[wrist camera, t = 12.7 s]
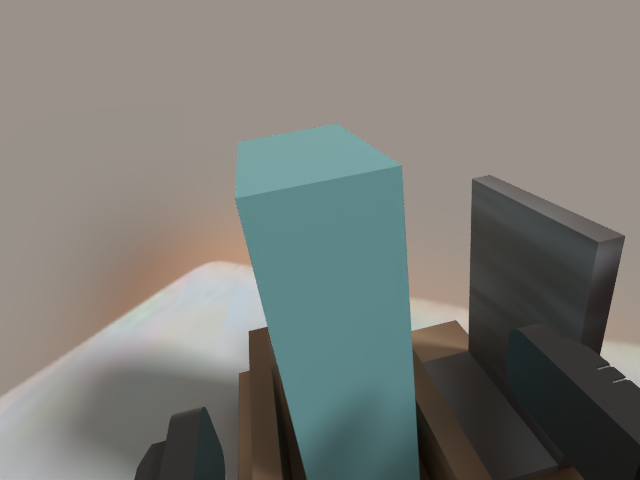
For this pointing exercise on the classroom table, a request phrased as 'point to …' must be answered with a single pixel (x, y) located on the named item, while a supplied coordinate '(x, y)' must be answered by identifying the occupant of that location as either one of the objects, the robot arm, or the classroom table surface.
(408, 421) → the book
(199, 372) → the classroom table surface
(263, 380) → the book rack
